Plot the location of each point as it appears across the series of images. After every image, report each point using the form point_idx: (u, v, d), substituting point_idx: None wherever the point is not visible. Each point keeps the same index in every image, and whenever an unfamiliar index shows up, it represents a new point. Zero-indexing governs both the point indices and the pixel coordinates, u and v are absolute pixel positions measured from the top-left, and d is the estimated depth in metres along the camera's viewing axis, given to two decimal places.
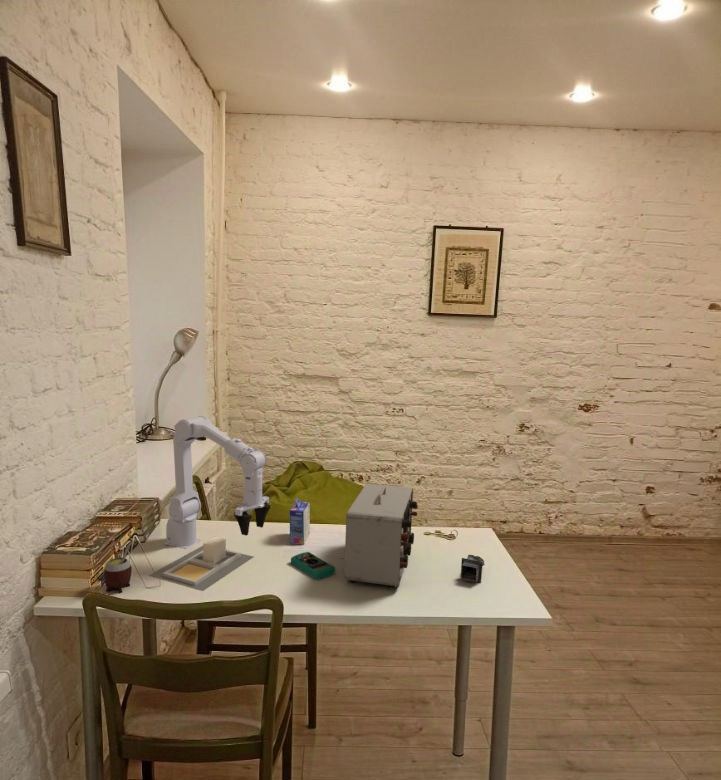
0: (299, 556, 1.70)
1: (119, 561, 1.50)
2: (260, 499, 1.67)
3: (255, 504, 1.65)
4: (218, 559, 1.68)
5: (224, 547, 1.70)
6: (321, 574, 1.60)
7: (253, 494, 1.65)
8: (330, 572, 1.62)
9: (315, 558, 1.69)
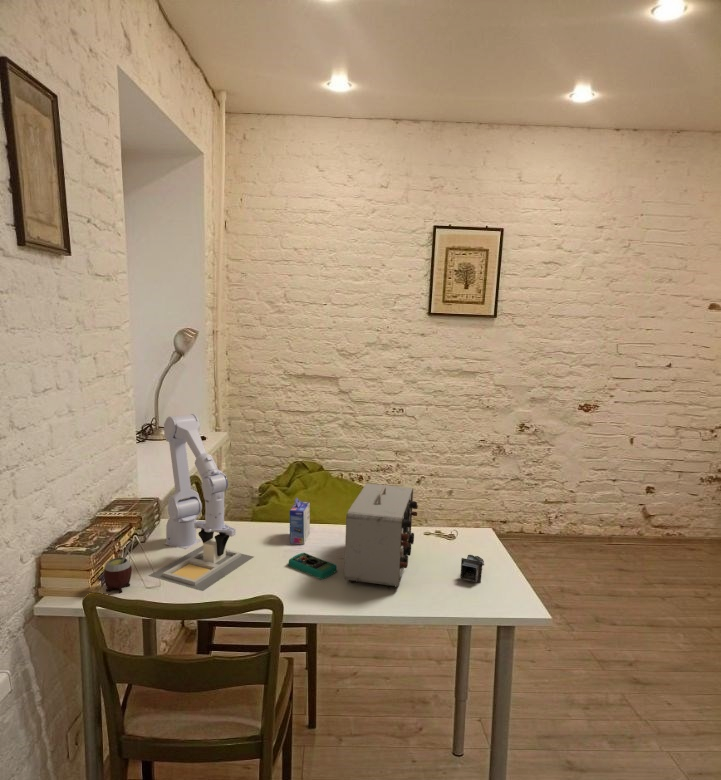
0: (296, 558, 1.69)
1: (119, 561, 1.50)
2: (209, 524, 1.65)
3: (205, 526, 1.66)
4: (218, 559, 1.68)
5: None
6: (326, 573, 1.61)
7: (205, 515, 1.66)
8: (333, 570, 1.63)
9: (313, 558, 1.69)
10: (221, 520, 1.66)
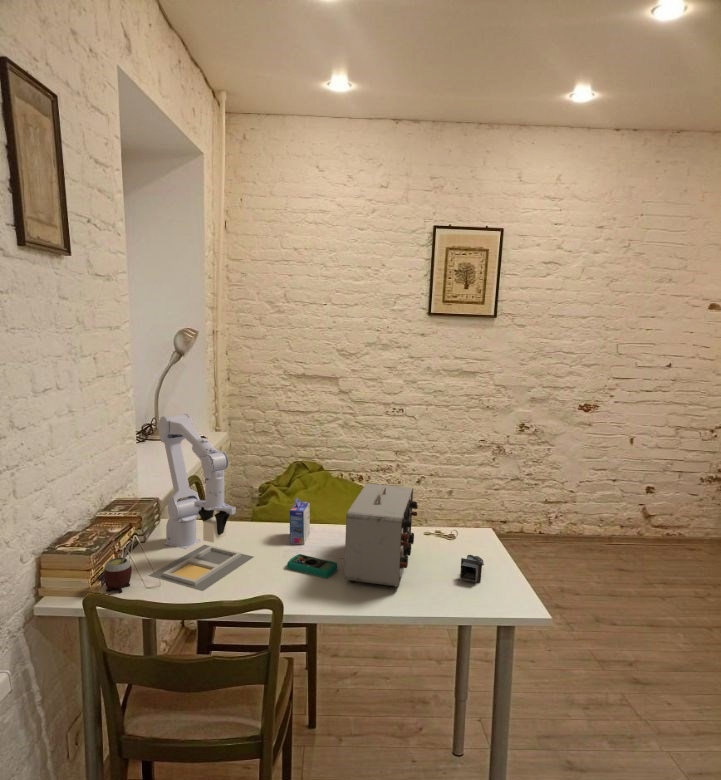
0: (294, 559, 1.67)
1: (119, 561, 1.50)
2: (209, 502, 1.64)
3: (205, 504, 1.65)
4: (218, 538, 1.67)
5: None
6: (330, 572, 1.62)
7: (205, 493, 1.66)
8: (335, 568, 1.65)
9: (311, 558, 1.69)
10: (221, 498, 1.65)
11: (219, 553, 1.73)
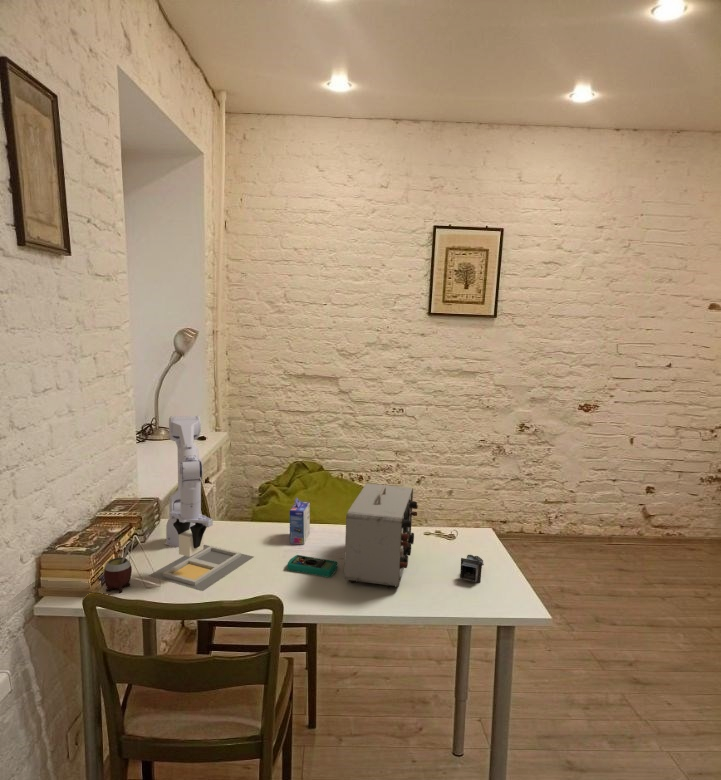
0: (294, 561, 1.66)
1: (119, 561, 1.50)
2: (184, 513, 1.54)
3: (180, 516, 1.55)
4: (195, 551, 1.57)
5: None
6: (332, 571, 1.62)
7: None
8: (335, 567, 1.65)
9: (310, 558, 1.68)
10: (197, 509, 1.55)
11: (219, 553, 1.73)
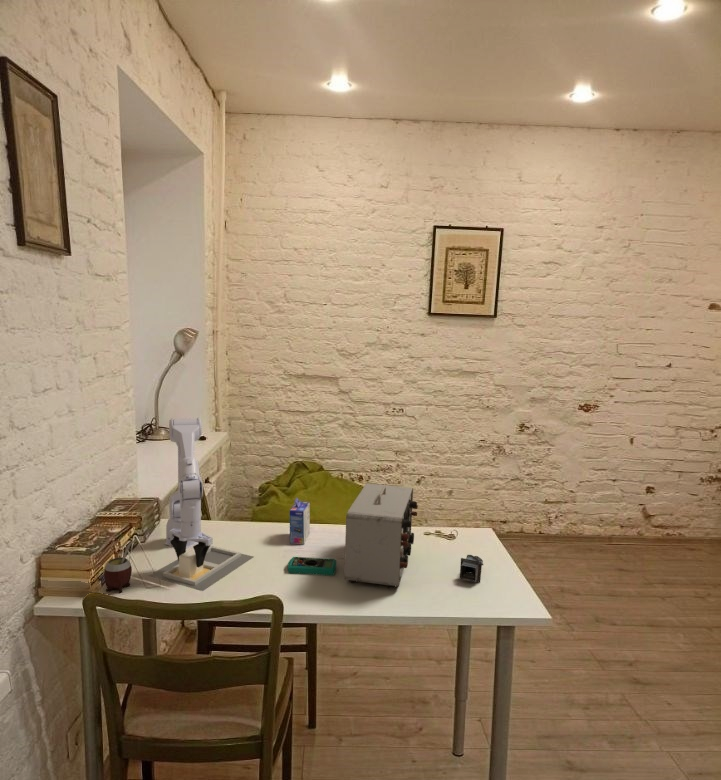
0: (293, 563, 1.65)
1: (119, 561, 1.50)
2: (184, 532, 1.55)
3: (180, 534, 1.56)
4: (195, 573, 1.58)
5: None
6: (334, 569, 1.64)
7: (180, 523, 1.56)
8: None
9: (308, 559, 1.68)
10: (197, 528, 1.56)
11: (219, 553, 1.73)
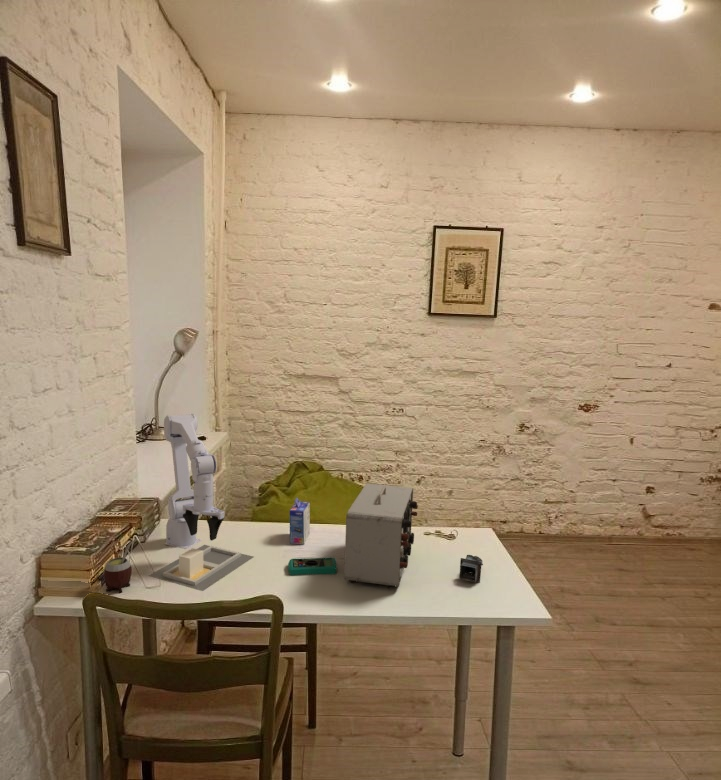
0: (294, 565, 1.64)
1: (119, 561, 1.50)
2: (197, 506, 1.60)
3: (194, 508, 1.62)
4: (195, 573, 1.58)
5: (201, 560, 1.60)
6: None
7: (193, 497, 1.62)
8: None
9: (307, 560, 1.68)
10: (210, 502, 1.62)
11: (219, 553, 1.73)
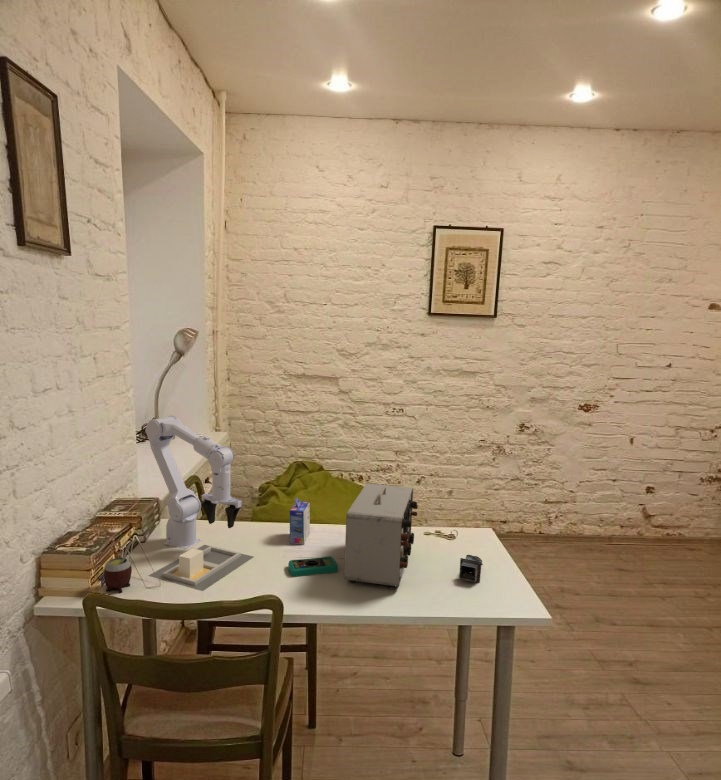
0: (295, 566, 1.63)
1: (119, 561, 1.50)
2: (216, 495, 1.70)
3: (212, 498, 1.71)
4: (195, 573, 1.58)
5: (201, 560, 1.60)
6: (336, 565, 1.66)
7: (212, 487, 1.72)
8: None
9: (306, 560, 1.67)
10: (228, 492, 1.71)
11: (219, 553, 1.73)
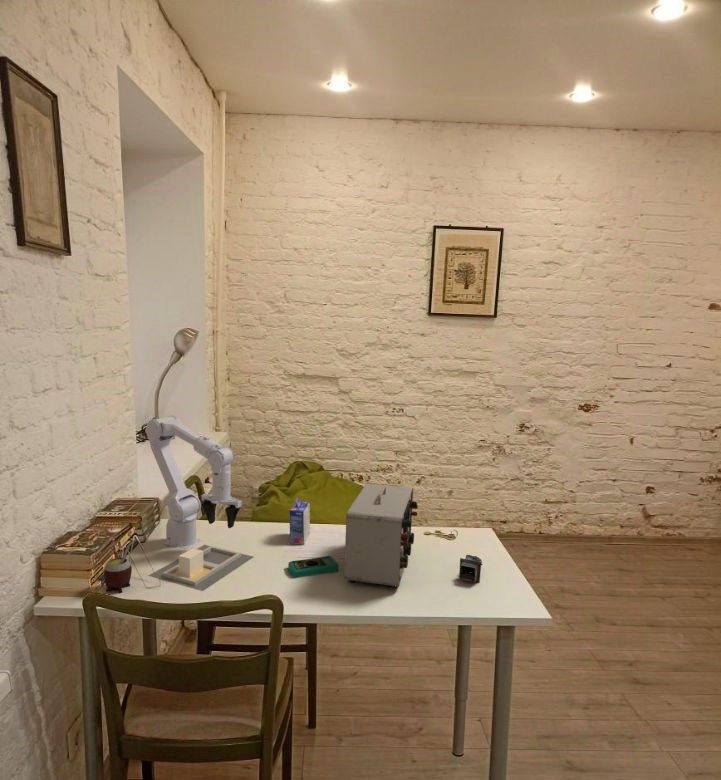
0: (296, 567, 1.62)
1: (119, 561, 1.50)
2: (216, 495, 1.70)
3: (212, 498, 1.71)
4: (195, 573, 1.58)
5: (201, 560, 1.60)
6: None
7: (212, 487, 1.72)
8: None
9: (306, 560, 1.67)
10: (228, 492, 1.71)
11: (219, 553, 1.73)
